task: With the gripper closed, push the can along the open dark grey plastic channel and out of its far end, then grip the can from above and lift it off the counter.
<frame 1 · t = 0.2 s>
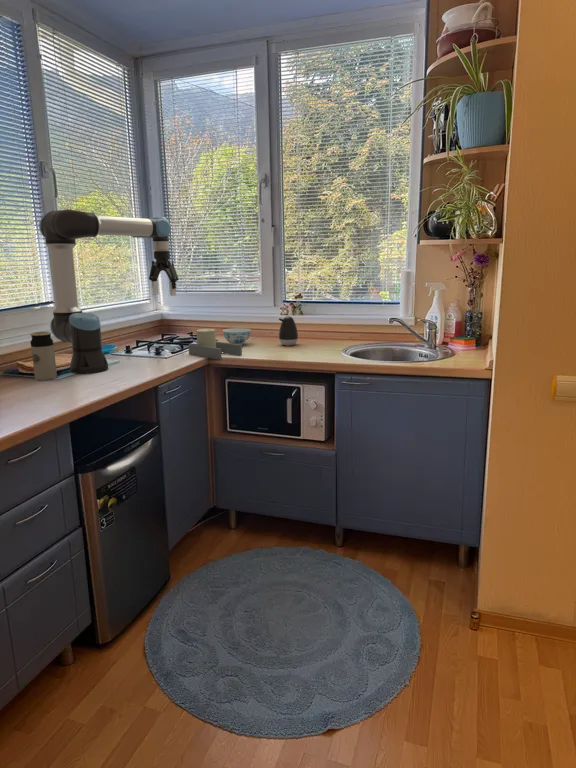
hand: (164, 295, 264), 28 cm above the table, tool pointing down, fingers open, 13 cm apart
travel mug: (46, 379, 211), on the table
channel: (215, 355, 257), on the table
chinaware: (237, 344, 286), on the table
pump dispenser: (288, 345, 283), on the table
can: (207, 354, 261), resting in channel
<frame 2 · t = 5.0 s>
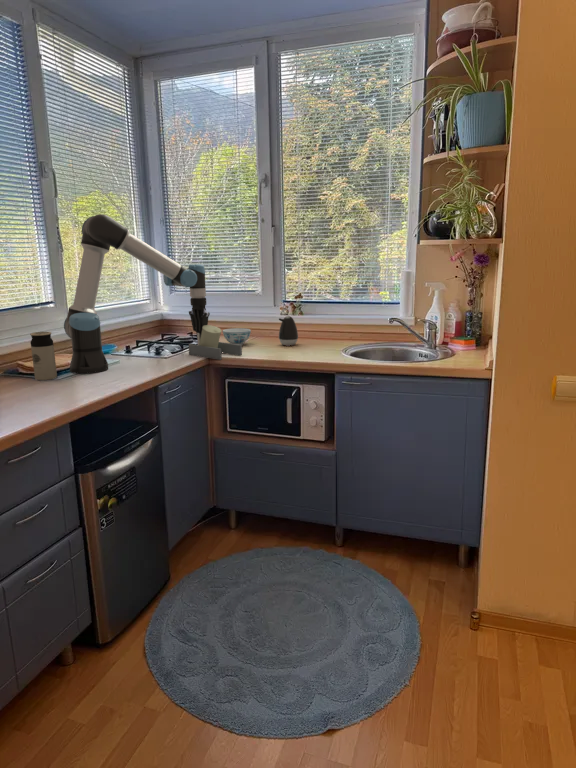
hand: (200, 345, 263), 3 cm above the table, tool pointing down, fingers closed
can: (207, 351, 260), point 1 cm above the table, touching gripper, hand
everything else where it was.
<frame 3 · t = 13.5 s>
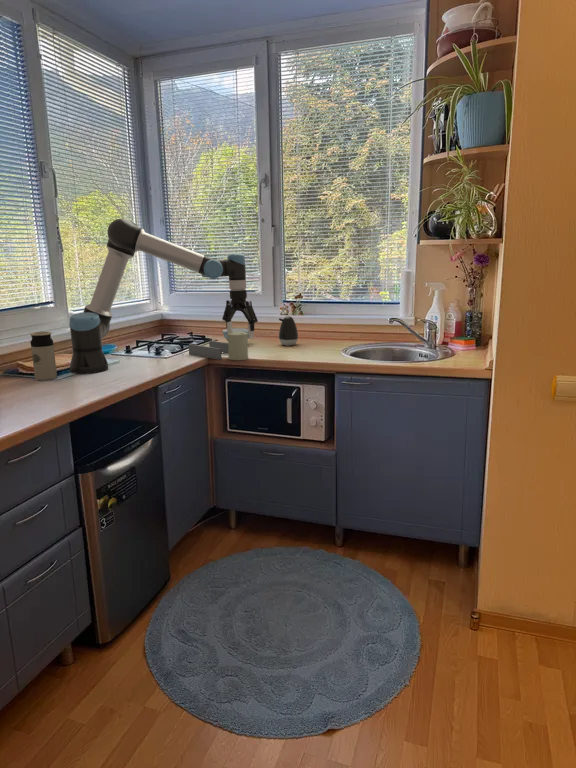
hand: (240, 337, 244), 10 cm above the table, tool pointing down, fingers open, 13 cm apart
can: (238, 358, 248), on the table, touching gripper
everything else where it was.
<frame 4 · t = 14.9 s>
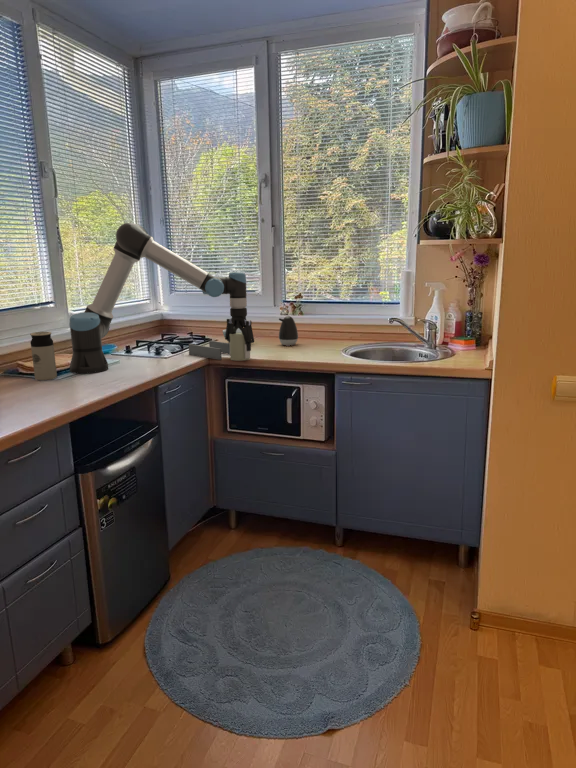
hand: (239, 356, 246), 1 cm above the table, tool pointing down, fingers open, 9 cm apart
can: (240, 359, 247), on the table, touching gripper
everything else where it was.
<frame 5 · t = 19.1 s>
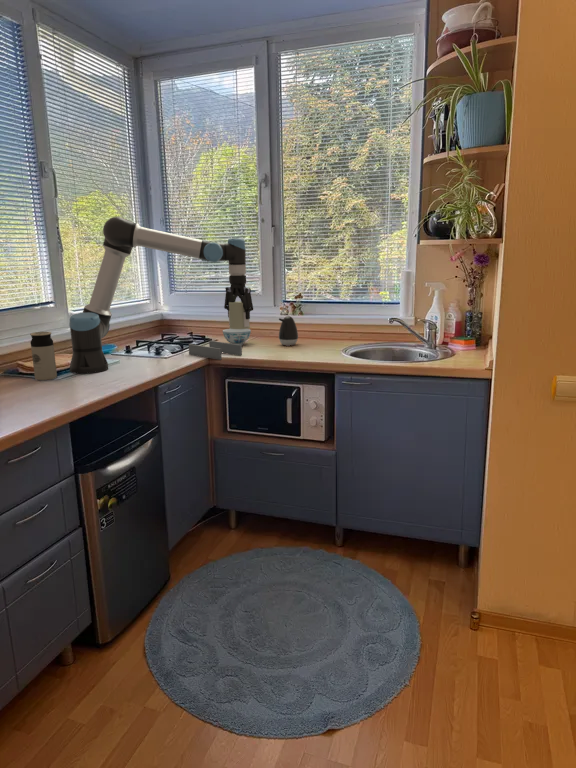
hand: (239, 325, 242), 15 cm above the table, tool pointing down, fingers closed on can, 9 cm apart
can: (239, 328, 243), point 14 cm above the table, touching gripper
everything else where it was.
at the end: the gripper is holding can; can inside the target area (3.0 cm from its centre), point 14.1 cm above the table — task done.
